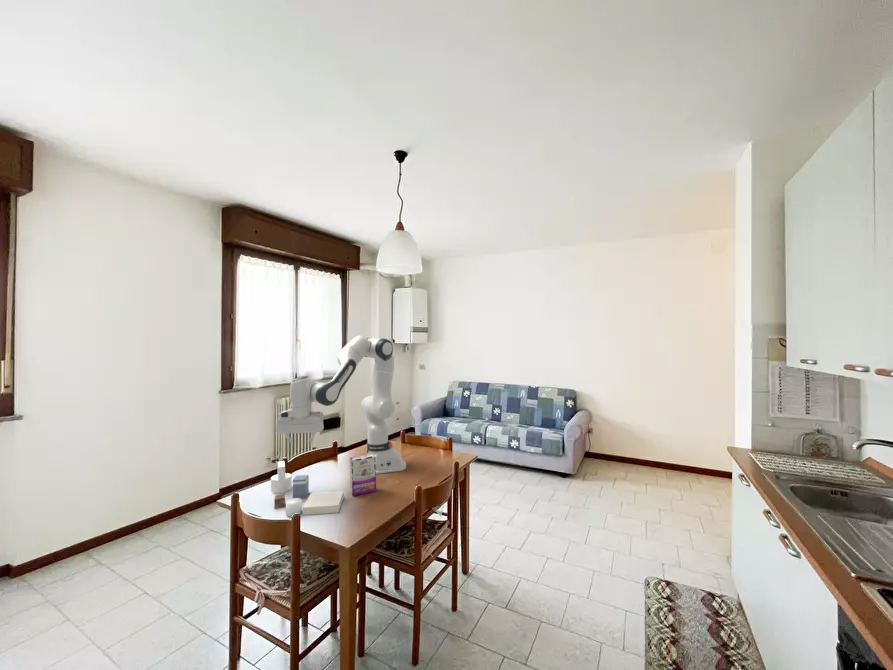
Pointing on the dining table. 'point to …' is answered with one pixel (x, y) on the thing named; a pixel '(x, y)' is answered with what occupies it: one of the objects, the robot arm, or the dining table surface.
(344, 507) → the dining table surface
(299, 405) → the robot arm
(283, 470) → the base with upright slab
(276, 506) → the walnut block
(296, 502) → the white rounded block
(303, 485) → the carton
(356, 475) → the candy bar box
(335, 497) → the podium
